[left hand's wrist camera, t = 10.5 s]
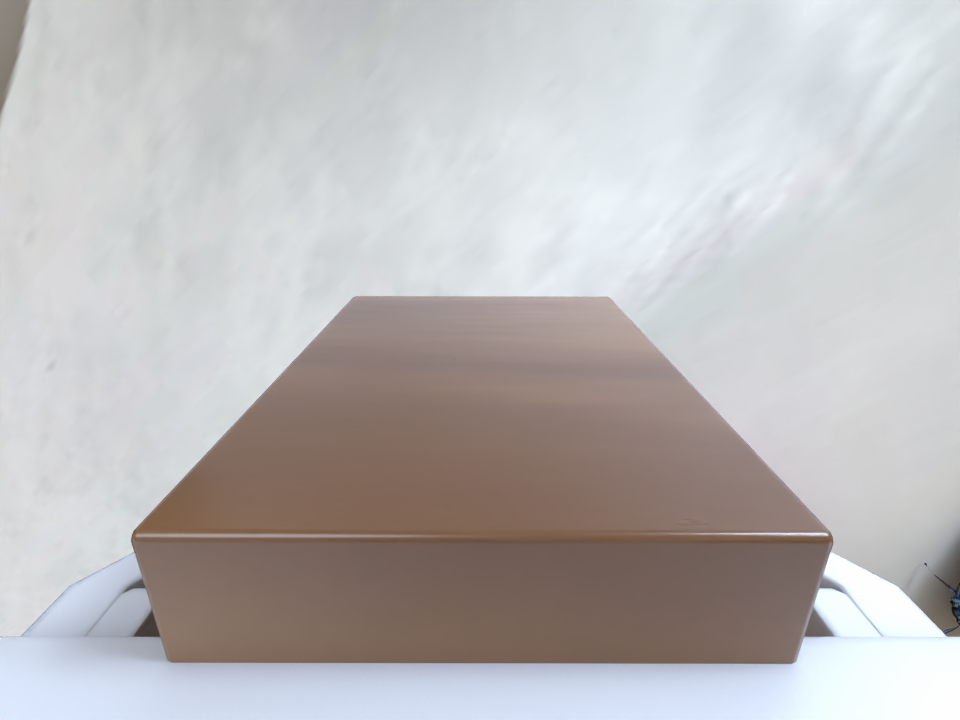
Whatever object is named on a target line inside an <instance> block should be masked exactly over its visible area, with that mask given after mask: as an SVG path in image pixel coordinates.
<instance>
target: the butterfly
mask: <svg viewBox="0 0 960 720" xmlns="http://www.w3.org/2000/svg"><path fill="white" fill-rule="evenodd" d="M925 565H926V566H927V564H926V563H925ZM929 570H930V569H929ZM936 577H937V576H936ZM937 578H938V577H937ZM938 579H939V578H938ZM939 580H940V581H942V580H941V579H939ZM942 582H943V581H942ZM943 583H944V584H945V585H946V586H947V587H949V589H950V591H951V592H952V594H953V595H954V597H953V598H951V599H952V600H953V601H950V603H951V604H952V612H953V615H954V616H955V617H956V618H957V619H956V621H957V622H958V624H959V625H960V583H959V585H958V588H957V591H956V590H955V589H953V588H951V587H950V585H949V586H948V585H947V584H946V583H945V582H943ZM952 590H953V591H954V592H956V596H955V594H954V593H953V591H952ZM956 628H958V626H957V627H955V628H952V629H948V630H945V631H944V632H943V633H944V634H946V633H947V632H950V631H953V630H955V629H956Z"/></svg>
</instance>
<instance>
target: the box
mask: <svg viewBox="0 0 960 720" xmlns="http://www.w3.org/2000/svg"><path fill="white" fill-rule="evenodd" d="M131 542H132V546H133V549H134V552H135V555H136V559H137V562H138V565H139V569H140V572H141V575H142V578H143V582H144V585H145V588H146V591H147V595H148V598H149V601H150V605H151V608H152V611H153V614H154V618H155V621H156V624H157V628H158V631H159V634H160V637H161V641H162V644H163V647H164V651H165V654H166V657H167V660H168V661H170V662H172V663H583V664H792V663H795V662H796V661H797V658H798V654H799V651H800V648H801V645H802V642H803V638H804V635H805V632H806V629H807V626H808V622H809V619H810V616H811V613H812V610H813V606H814V603H815V600H816V597H817V594H818V590H819V587H820V584H821V581H822V578H823V574H824V571H825V568H826V565H827V562H828V558H829V555H830V552H831V549H832V545H833V537H832V535H831V532H830V531H829V530H828V529H827V528H826V527H825V526H824V525H823V524H822V523H821V522H820V521H819V520H818V519H817V518H816V516H815V515H814V514H813V513H812V512H811V511H810V510H809V509H808V508H807V507H806V506H805V505H804V504H803V503H802V502H801V501H800V499H799V498H798V497H797V496H796V495H795V494H794V493H793V492H792V491H791V490H790V489H789V488H788V487H787V486H786V485H785V484H784V482H783V481H782V480H781V479H780V478H779V477H778V476H777V475H776V474H775V473H774V472H773V471H772V470H771V469H770V468H769V467H768V465H767V464H766V463H765V462H764V461H763V460H762V459H761V458H760V457H759V456H758V455H757V454H756V453H755V452H754V451H753V450H752V448H751V447H750V446H749V445H748V444H747V443H746V442H745V441H744V440H743V439H742V438H741V437H740V436H739V435H738V434H737V433H736V431H735V430H734V429H733V428H732V427H731V426H730V425H729V424H728V423H727V422H726V421H725V420H724V419H723V418H722V417H721V416H720V414H719V413H718V412H717V411H716V410H715V409H714V408H713V407H712V406H711V405H710V404H709V403H708V402H707V401H706V400H705V399H704V397H703V396H702V395H701V394H700V393H699V392H698V391H697V390H696V389H695V388H694V387H693V386H692V385H691V384H690V383H689V382H688V380H687V379H686V378H685V377H684V376H683V375H682V374H681V373H680V372H679V371H678V370H677V369H676V368H675V367H674V366H673V365H672V363H671V362H670V361H669V360H668V359H667V358H666V357H665V356H664V355H663V354H662V353H661V352H660V351H659V350H658V349H657V348H656V346H655V345H654V344H653V343H652V342H651V341H650V340H649V339H648V338H647V337H646V336H645V335H644V334H643V333H642V332H641V331H640V329H639V328H638V327H637V326H636V325H635V324H634V323H633V322H632V321H631V320H630V319H629V318H628V317H627V316H626V315H625V314H624V312H623V311H622V310H621V309H620V308H619V307H618V306H617V305H616V304H615V303H614V302H613V301H612V300H611V299H610V298H609V297H391V296H356V297H353V298H352V299H351V300H350V302H349V303H348V304H347V305H346V306H345V307H344V308H343V309H342V310H341V311H340V312H339V313H338V314H337V315H336V316H335V317H334V319H333V320H332V321H331V322H330V323H329V324H328V325H327V326H326V327H325V328H324V329H323V330H322V331H321V332H320V333H319V334H318V336H317V337H316V338H315V339H314V340H313V341H312V342H311V343H310V344H309V345H308V346H307V347H306V348H305V349H304V350H303V351H302V353H301V354H300V355H299V356H298V357H297V358H296V359H295V360H294V361H293V362H292V363H291V364H290V365H289V366H288V367H287V368H286V370H285V371H284V372H283V373H282V374H281V375H280V376H279V377H278V378H277V379H276V380H275V381H274V382H273V383H272V384H271V385H270V387H269V388H268V389H267V390H266V391H265V392H264V393H263V394H262V395H261V396H260V397H259V398H258V399H257V400H256V401H255V403H254V404H253V405H252V406H251V407H250V408H249V409H248V410H247V411H246V412H245V413H244V414H243V415H242V416H241V417H240V418H239V420H238V421H237V422H236V423H235V424H234V425H233V426H232V427H231V428H230V429H229V430H228V431H227V432H226V433H225V434H224V435H223V437H222V438H221V439H220V440H219V441H218V442H217V443H216V444H215V445H214V446H213V447H212V448H211V449H210V450H209V451H208V452H207V454H206V455H205V456H204V457H203V458H202V459H201V460H200V461H199V462H198V463H197V464H196V465H195V466H194V467H193V468H192V469H191V471H190V472H189V473H188V474H187V475H186V476H185V477H184V478H183V479H182V480H181V481H180V482H179V483H178V484H177V485H176V486H175V488H174V489H173V490H172V491H171V492H170V493H169V494H168V495H167V496H166V497H165V498H164V499H163V500H162V501H161V502H160V503H159V505H158V506H157V507H156V508H155V509H154V510H153V511H152V512H151V513H150V514H149V515H148V516H147V517H146V518H145V519H144V520H143V522H142V523H141V524H140V525H139V526H138V527H137V528H136V529H135V530H134V532H133V534H132V539H131Z"/></svg>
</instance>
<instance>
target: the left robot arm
mask: <svg viewBox="0 0 960 720" xmlns="http://www.w3.org/2000/svg"><path fill="white" fill-rule="evenodd" d="M0 720H960V637H947V636H946V635H945V634H944V633H943V632H942V631H941V630H940V629H939V628H938V627H937V626H936V625H935V624H934V623H933V622H932V621H931V620H930V619H929V618H928V617H927V616H926V615H925V614H924V613H923V612H922V611H921V610H920V609H919V607H918V606H917V605H916V604H915V603H914V602H913V601H912V600H911V599H910V598H909V597H908V596H907V595H906V594H905V593H904V592H903V591H902V590H901V589H900V588H899V587H898V586H896V585H894V584H892V583H890V582H888V581H886V580H884V579H882V578H880V577H878V576H876V575H875V574H873V573H871V572H869V571H867V570H865V569H863V568H861V567H859V566H857V565H855V564H853V563H852V562H850V561H848V560H846V559H844V558H842V557H840V556H838V555H836V554H834V553H832V552H830V555H829V558H828V562H827V565H826V568H825V571H824V574H823V578H822V581H821V584H820V587H819V590H818V594H817V597H816V600H815V603H814V606H813V610H812V613H811V616H810V619H809V622H808V626H807V629H806V632H805V635H804V638H803V642H802V645H801V648H800V651H799V654H798V658H797V661H796V662H795V663H792V664H583V663H172V662H170V661H168V660H167V657H166V654H165V651H164V647H163V644H162V641H161V637H160V634H159V631H158V628H157V624H156V621H155V618H154V614H153V611H152V608H151V605H150V601H149V598H148V595H147V591H146V588H145V585H144V582H143V578H142V575H141V572H140V569H139V565H138V562H137V559H136V555H135V552H134V553H132V554H130V555H128V556H126V557H124V558H122V559H120V560H118V561H116V562H115V563H113V564H111V565H109V566H107V567H105V568H103V569H101V570H99V571H97V572H96V573H94V574H92V575H90V576H88V577H86V578H84V579H82V580H80V581H78V582H76V583H75V584H73V585H71V586H69V587H68V588H67V589H66V590H65V591H64V592H63V593H62V594H61V595H60V596H59V597H58V599H57V600H56V601H55V602H54V603H53V604H52V605H51V606H50V607H49V608H48V609H47V610H46V611H45V612H44V613H43V614H42V615H41V616H40V617H39V618H38V619H37V620H36V621H35V622H34V623H33V624H32V625H31V626H30V627H29V629H28V630H27V631H26V632H25V633H24V634H23V635H22V636H21V637H0Z"/></svg>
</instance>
